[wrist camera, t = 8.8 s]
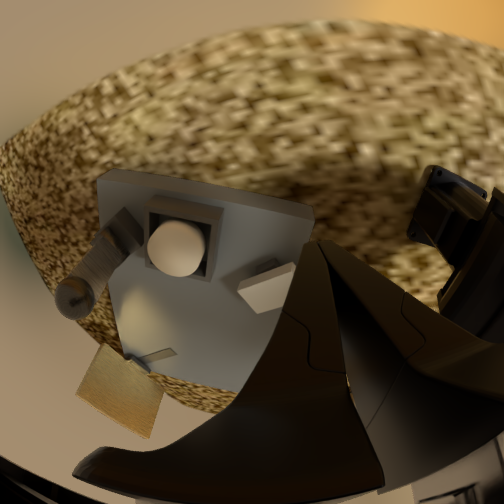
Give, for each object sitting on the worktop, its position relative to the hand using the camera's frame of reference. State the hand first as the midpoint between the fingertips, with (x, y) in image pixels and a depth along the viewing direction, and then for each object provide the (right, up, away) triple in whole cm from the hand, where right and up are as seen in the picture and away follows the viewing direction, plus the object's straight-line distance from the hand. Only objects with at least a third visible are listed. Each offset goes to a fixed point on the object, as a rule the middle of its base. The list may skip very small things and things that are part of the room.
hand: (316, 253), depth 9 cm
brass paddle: (-16, -14, +22) cm, 30 cm away
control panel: (-8, -5, +18) cm, 20 cm away
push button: (-7, +1, +10) cm, 12 cm away
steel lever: (-12, 0, +9) cm, 15 cm away
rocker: (0, -2, +11) cm, 12 cm away
